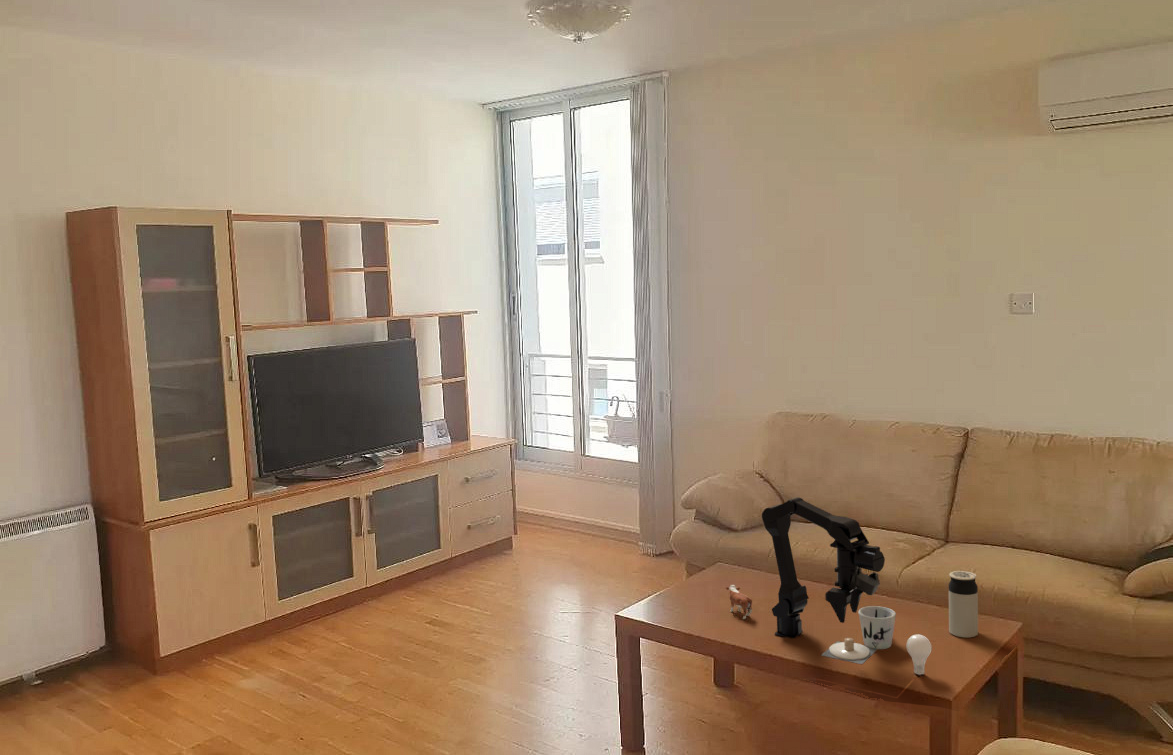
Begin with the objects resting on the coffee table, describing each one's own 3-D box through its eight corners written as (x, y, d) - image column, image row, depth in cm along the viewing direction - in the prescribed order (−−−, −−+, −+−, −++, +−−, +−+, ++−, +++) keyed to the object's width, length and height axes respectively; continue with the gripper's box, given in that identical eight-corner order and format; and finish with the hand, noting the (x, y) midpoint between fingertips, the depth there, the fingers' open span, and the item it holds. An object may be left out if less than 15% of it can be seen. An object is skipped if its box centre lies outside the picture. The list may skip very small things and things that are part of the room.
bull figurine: (735, 606, 306) (735, 582, 305) (755, 619, 293) (754, 594, 292) (723, 608, 304) (723, 584, 304) (743, 621, 292) (742, 596, 291)
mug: (857, 650, 265) (856, 616, 264) (861, 631, 279) (861, 599, 278) (895, 653, 261) (894, 619, 260) (898, 634, 275) (897, 602, 274)
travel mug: (954, 638, 270) (954, 579, 268) (945, 628, 278) (944, 570, 276) (982, 637, 269) (981, 578, 268) (971, 627, 277) (971, 569, 276)
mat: (821, 656, 262) (821, 655, 262) (837, 642, 271) (837, 641, 271) (862, 665, 255) (862, 664, 255) (877, 650, 264) (877, 649, 264)
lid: (823, 655, 262) (823, 642, 262) (838, 642, 271) (838, 629, 270) (861, 663, 255) (860, 649, 255) (875, 649, 264) (874, 636, 264)
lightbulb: (906, 678, 245) (905, 638, 244) (907, 668, 251) (906, 629, 250) (931, 680, 243) (931, 640, 242) (931, 671, 249) (931, 631, 248)
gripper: (863, 578, 248) (864, 633, 250) (887, 559, 263) (887, 612, 265) (824, 571, 255) (825, 625, 257) (849, 554, 270) (850, 605, 271)
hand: (848, 617), depth 262 cm, fingers open, 9 cm apart
